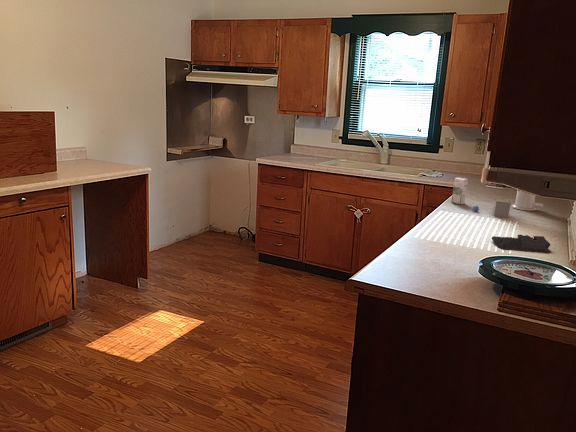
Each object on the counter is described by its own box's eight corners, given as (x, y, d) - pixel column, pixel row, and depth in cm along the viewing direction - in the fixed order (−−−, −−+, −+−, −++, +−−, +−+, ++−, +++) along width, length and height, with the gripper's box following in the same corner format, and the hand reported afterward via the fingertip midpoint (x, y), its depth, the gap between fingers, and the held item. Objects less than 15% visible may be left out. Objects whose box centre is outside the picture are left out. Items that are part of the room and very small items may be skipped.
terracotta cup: (494, 182, 279) (496, 168, 277) (495, 184, 273) (498, 170, 271) (480, 181, 281) (483, 167, 279) (482, 183, 275) (484, 168, 273)
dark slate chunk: (486, 240, 215) (488, 229, 214) (538, 243, 215) (540, 233, 214) (500, 251, 200) (502, 239, 199) (555, 255, 200) (557, 243, 199)
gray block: (506, 215, 264) (508, 200, 262) (508, 217, 258) (510, 202, 256) (492, 213, 266) (494, 198, 264) (493, 216, 260) (496, 201, 258)
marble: (478, 211, 270) (479, 205, 269) (478, 212, 267) (479, 206, 266) (471, 210, 271) (472, 204, 270) (472, 211, 268) (473, 205, 267)
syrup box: (464, 203, 288) (468, 178, 284) (460, 204, 284) (464, 179, 280) (455, 201, 291) (459, 177, 288) (450, 202, 287) (454, 177, 284)
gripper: (484, 146, 281) (479, 177, 286) (488, 149, 265) (482, 182, 269) (499, 147, 280) (493, 179, 284) (503, 150, 263) (497, 184, 268)
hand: (488, 180), depth 277 cm, fingers closed on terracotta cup, 7 cm apart
